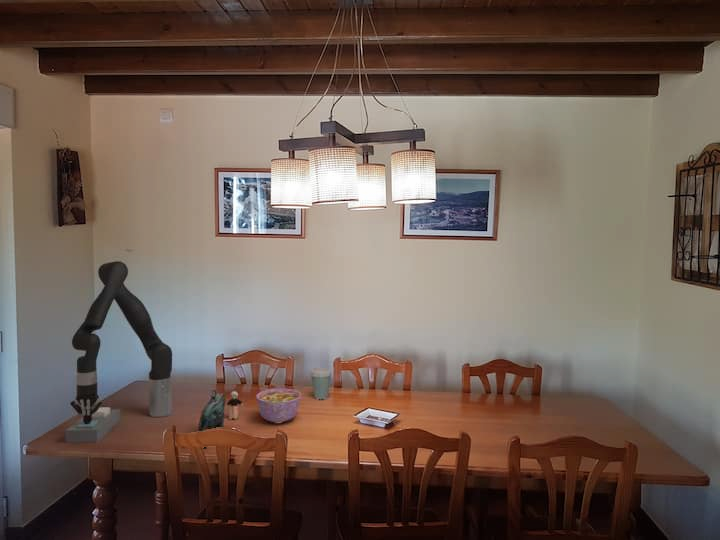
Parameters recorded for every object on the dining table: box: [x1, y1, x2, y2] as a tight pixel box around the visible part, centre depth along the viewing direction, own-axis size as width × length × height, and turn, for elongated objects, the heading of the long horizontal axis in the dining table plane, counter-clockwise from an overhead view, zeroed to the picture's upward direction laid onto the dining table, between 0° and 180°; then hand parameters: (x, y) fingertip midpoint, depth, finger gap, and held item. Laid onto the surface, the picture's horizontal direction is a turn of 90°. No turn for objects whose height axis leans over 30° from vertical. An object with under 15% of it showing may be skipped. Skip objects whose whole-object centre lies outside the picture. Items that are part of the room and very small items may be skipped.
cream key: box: [92, 406, 111, 417], centre depth 224 cm, size 6×6×3 cm
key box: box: [65, 408, 121, 444], centre depth 219 cm, size 12×24×5 cm, turn 4°
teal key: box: [77, 421, 99, 428], centre depth 213 cm, size 6×6×3 cm
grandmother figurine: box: [225, 391, 244, 420], centre depth 236 cm, size 8×4×13 cm, turn 118°
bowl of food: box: [255, 388, 302, 423], centre depth 235 cm, size 20×20×12 cm
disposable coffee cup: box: [310, 367, 332, 399], centre depth 267 cm, size 11×11×15 cm
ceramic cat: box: [198, 389, 226, 432], centre depth 212 cm, size 20×6×20 cm, turn 174°
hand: (87, 423), depth 213 cm, fingers closed
